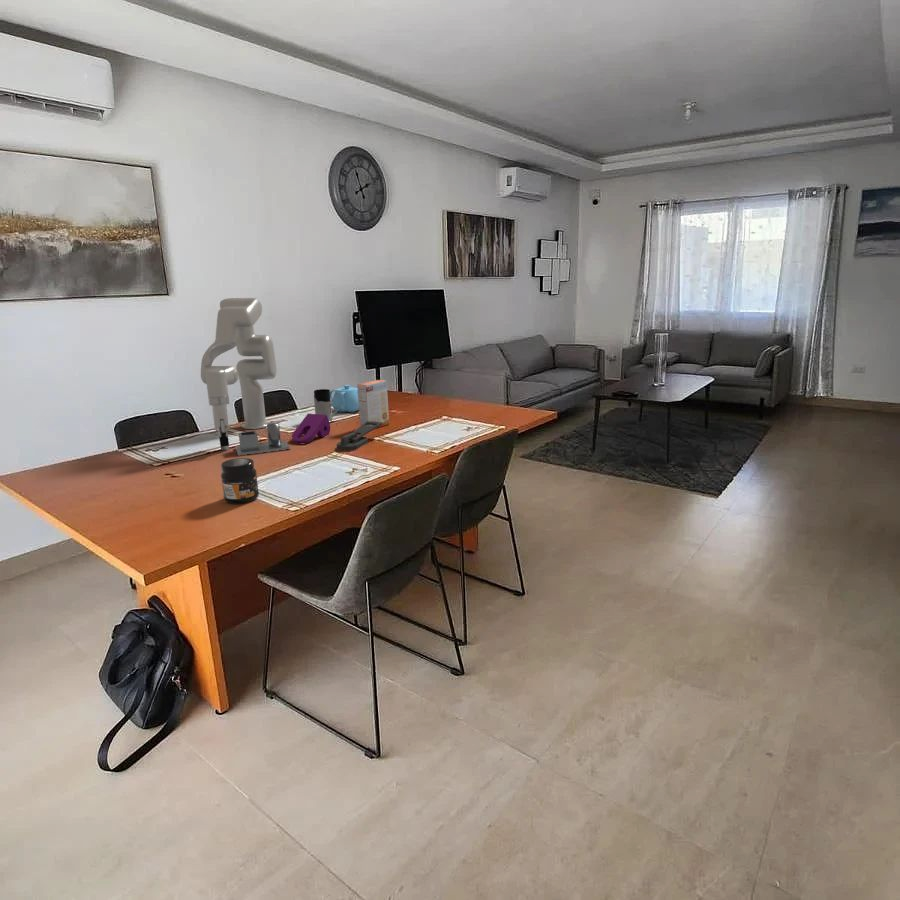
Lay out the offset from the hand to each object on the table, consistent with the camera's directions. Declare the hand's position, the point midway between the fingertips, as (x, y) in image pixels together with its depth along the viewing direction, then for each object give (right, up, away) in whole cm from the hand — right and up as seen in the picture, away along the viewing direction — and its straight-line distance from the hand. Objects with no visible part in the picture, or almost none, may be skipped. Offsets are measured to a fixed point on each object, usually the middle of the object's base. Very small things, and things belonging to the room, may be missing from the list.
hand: (224, 444), depth 241 cm
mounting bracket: (+31, +2, +15) cm, 35 cm away
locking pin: (0, -2, +1) cm, 2 cm away
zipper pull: (+54, 0, +8) cm, 54 cm away
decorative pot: (+38, +18, +70) cm, 82 cm away
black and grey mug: (+33, +12, +48) cm, 59 cm away
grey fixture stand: (+15, -2, +1) cm, 15 cm away
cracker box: (+57, +8, +35) cm, 67 cm away
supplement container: (+26, -18, -55) cm, 63 cm away
